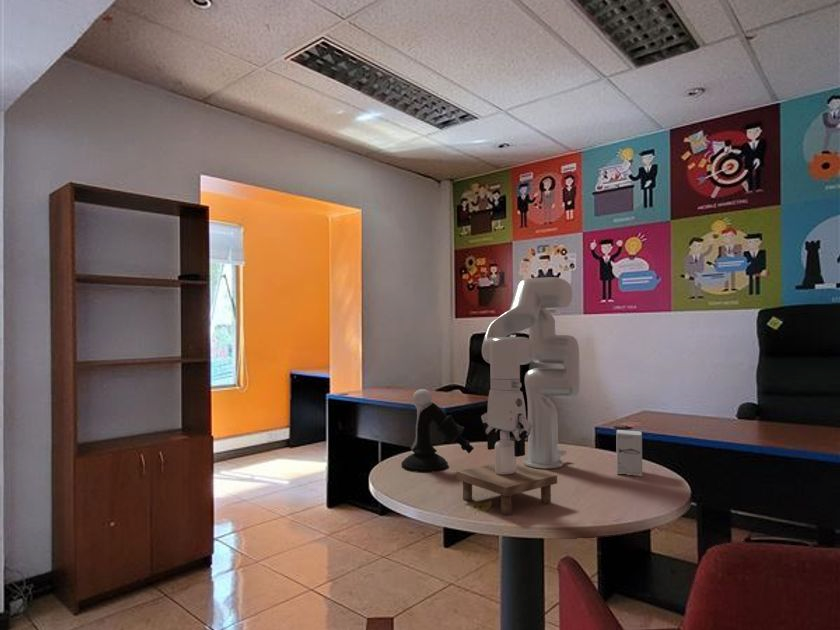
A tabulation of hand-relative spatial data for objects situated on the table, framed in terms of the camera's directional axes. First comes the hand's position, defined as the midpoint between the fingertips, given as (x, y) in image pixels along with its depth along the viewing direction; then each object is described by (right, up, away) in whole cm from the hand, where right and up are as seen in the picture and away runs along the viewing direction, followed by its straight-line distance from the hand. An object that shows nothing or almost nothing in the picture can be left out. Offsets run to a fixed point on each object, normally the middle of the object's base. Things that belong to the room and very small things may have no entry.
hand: (505, 452), depth 133 cm
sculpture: (-16, -14, +34) cm, 41 cm away
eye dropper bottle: (0, -6, 0) cm, 6 cm away
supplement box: (+42, -14, +26) cm, 52 cm away
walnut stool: (0, -12, -1) cm, 12 cm away
